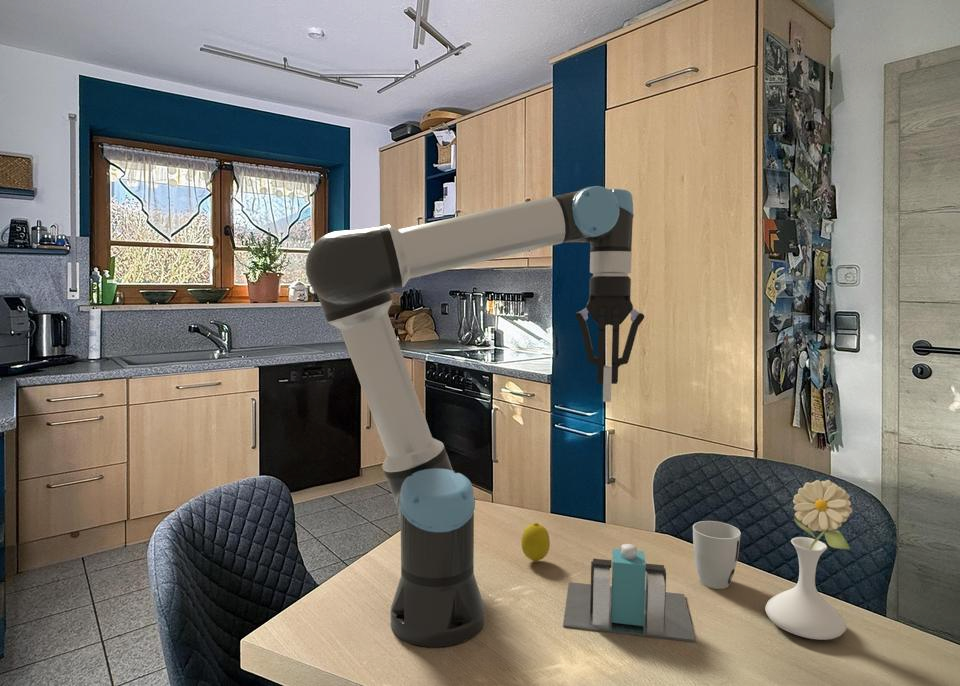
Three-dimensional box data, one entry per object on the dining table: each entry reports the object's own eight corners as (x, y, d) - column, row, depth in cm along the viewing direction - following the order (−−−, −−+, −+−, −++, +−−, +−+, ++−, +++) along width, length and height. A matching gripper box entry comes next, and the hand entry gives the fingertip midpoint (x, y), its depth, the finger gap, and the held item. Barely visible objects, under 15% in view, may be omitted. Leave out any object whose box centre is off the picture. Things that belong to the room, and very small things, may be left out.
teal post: (611, 622, 97) (613, 552, 95) (611, 606, 101) (612, 539, 100) (643, 626, 96) (646, 555, 94) (642, 609, 100) (644, 542, 99)
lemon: (541, 571, 115) (542, 530, 115) (516, 564, 118) (516, 524, 118) (554, 559, 120) (554, 520, 119) (529, 553, 123) (529, 515, 122)
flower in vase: (749, 612, 101) (756, 466, 99) (806, 603, 104) (815, 461, 101) (809, 659, 89) (819, 493, 86) (872, 648, 91) (884, 486, 89)
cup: (742, 595, 107) (745, 540, 106) (694, 590, 108) (696, 536, 107) (733, 573, 115) (735, 522, 114) (687, 569, 116) (689, 519, 115)
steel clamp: (563, 626, 97) (564, 573, 96) (568, 584, 110) (569, 536, 110) (695, 642, 93) (697, 586, 92) (684, 596, 106) (686, 547, 105)
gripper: (645, 275, 115) (641, 398, 118) (575, 275, 118) (573, 395, 120) (647, 275, 108) (643, 406, 110) (573, 275, 111) (571, 402, 113)
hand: (606, 400), depth 115 cm, fingers closed
